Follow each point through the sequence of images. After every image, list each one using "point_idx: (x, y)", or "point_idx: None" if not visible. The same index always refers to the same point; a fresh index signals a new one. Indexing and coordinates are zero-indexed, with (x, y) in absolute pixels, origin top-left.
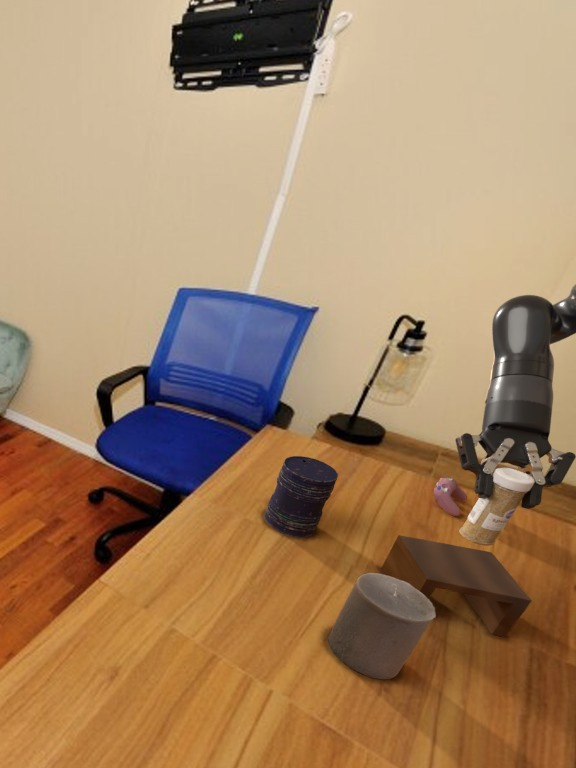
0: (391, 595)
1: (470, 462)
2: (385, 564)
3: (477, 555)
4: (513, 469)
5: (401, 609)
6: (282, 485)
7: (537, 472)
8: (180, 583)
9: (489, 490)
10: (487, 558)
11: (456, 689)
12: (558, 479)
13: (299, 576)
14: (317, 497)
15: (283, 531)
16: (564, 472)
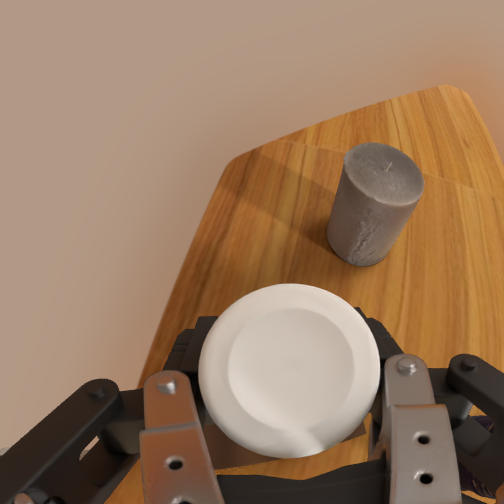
0: (389, 166)
1: (481, 364)
2: None
3: (235, 446)
4: (284, 445)
5: (375, 151)
6: None
7: (169, 423)
8: (496, 238)
9: None
10: (220, 445)
11: (276, 238)
12: (87, 393)
13: (432, 331)
14: (493, 424)
15: None
16: (46, 427)
